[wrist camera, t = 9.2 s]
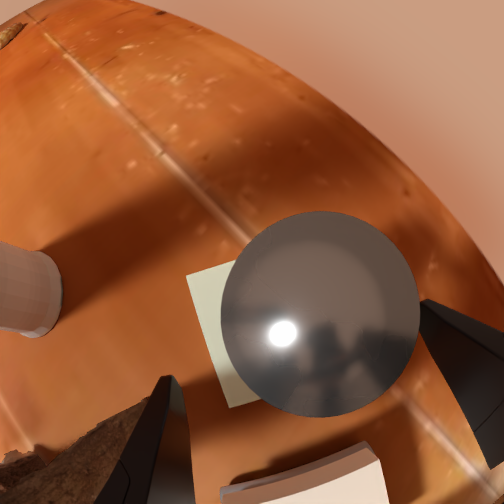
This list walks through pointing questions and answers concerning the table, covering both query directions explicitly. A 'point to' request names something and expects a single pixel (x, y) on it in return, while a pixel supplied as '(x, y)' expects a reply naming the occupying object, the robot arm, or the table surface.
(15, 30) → the pastry
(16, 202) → the table surface
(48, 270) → the container
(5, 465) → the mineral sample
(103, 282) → the table surface
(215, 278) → the mat
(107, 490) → the robot arm
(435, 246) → the table surface
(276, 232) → the silver metal cylinder
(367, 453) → the slab on rollers
